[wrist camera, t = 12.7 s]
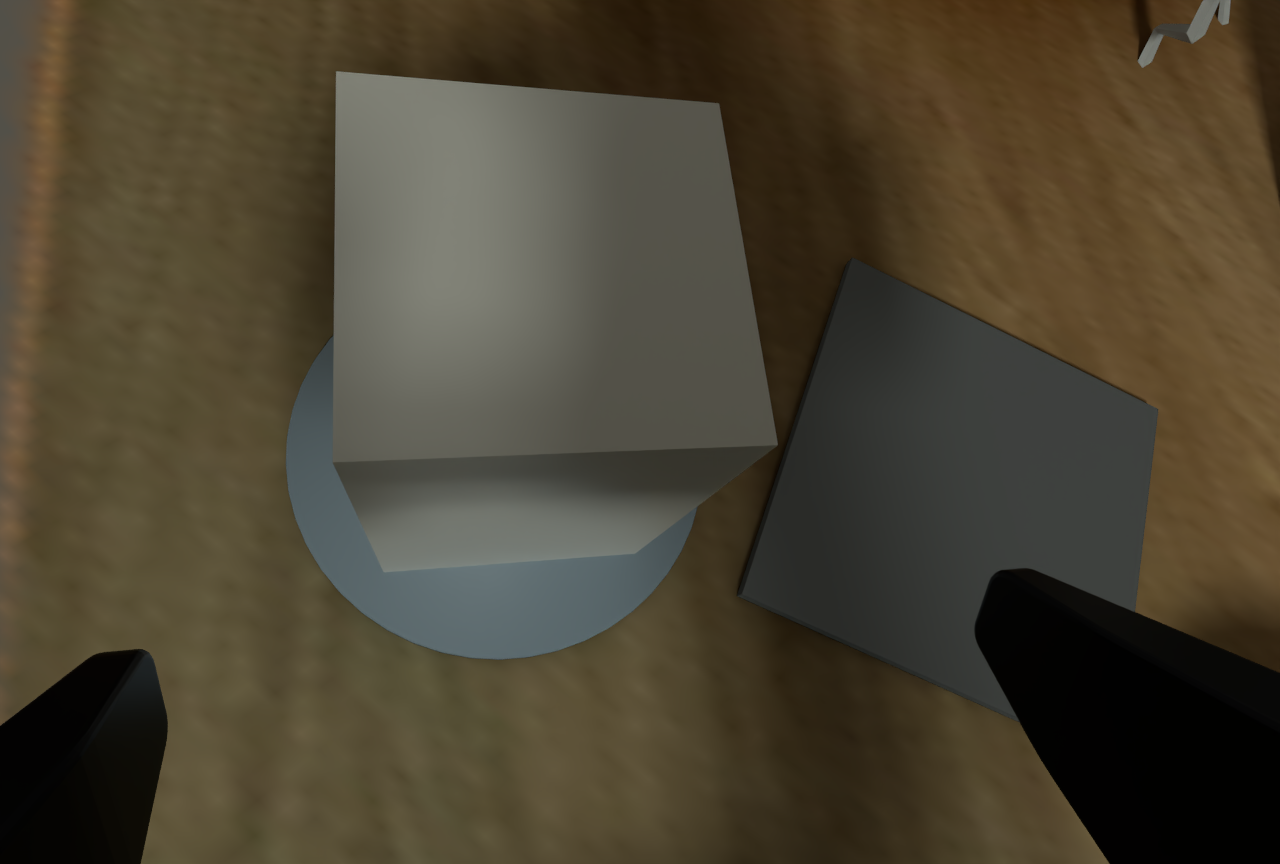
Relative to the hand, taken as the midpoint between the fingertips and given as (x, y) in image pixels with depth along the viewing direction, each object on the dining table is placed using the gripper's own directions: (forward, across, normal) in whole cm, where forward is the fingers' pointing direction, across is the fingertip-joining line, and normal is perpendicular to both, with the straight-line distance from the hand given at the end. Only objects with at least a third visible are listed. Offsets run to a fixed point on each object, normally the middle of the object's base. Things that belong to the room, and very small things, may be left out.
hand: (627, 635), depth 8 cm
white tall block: (+12, 0, +4) cm, 13 cm away
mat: (+11, -14, +6) cm, 19 cm away
